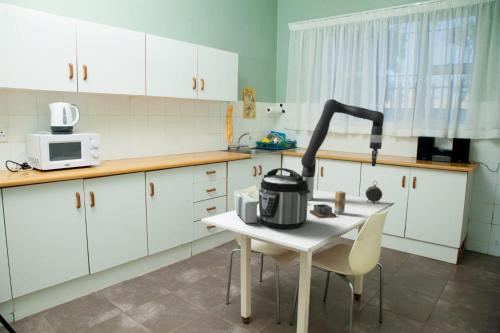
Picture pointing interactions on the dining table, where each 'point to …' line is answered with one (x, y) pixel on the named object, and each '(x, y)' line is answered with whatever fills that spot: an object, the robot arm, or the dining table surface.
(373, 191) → the alarm clock
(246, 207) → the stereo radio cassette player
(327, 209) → the socket board
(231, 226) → the dining table surface
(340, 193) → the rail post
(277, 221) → the pressure cooker
